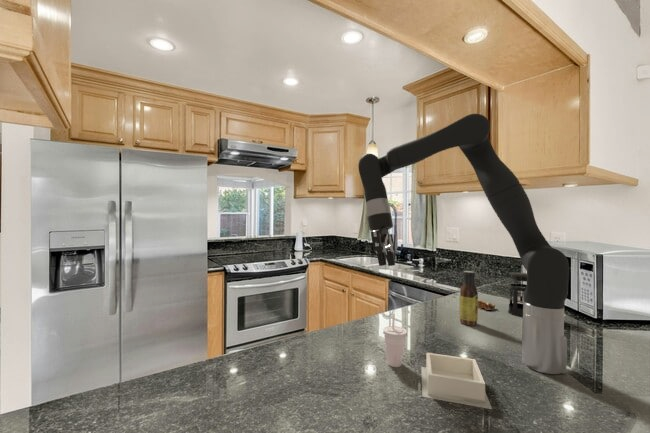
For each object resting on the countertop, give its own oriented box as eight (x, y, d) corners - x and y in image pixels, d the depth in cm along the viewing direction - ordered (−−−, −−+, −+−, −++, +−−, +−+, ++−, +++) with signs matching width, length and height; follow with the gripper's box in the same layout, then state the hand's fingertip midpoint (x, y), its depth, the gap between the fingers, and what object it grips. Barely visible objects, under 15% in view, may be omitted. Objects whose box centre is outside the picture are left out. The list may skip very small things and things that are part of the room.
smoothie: (389, 357, 88) (390, 309, 87) (410, 365, 84) (411, 314, 83) (377, 366, 83) (379, 314, 83) (399, 374, 79) (401, 320, 78)
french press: (501, 311, 133) (503, 258, 132) (514, 308, 137) (516, 257, 137) (530, 320, 122) (532, 262, 122) (543, 317, 127) (545, 261, 126)
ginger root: (474, 303, 146) (474, 296, 146) (499, 310, 135) (499, 302, 135) (465, 305, 142) (465, 297, 142) (489, 312, 132) (489, 304, 132)
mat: (478, 377, 78) (478, 375, 78) (492, 411, 64) (492, 409, 64) (421, 368, 82) (421, 366, 82) (422, 399, 68) (422, 396, 68)
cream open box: (474, 377, 77) (475, 359, 77) (484, 404, 66) (485, 383, 66) (426, 369, 80) (426, 352, 80) (427, 394, 69) (428, 374, 69)
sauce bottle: (479, 327, 113) (480, 273, 113) (461, 325, 115) (462, 272, 114) (474, 321, 120) (475, 270, 120) (457, 319, 121) (458, 269, 121)
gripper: (382, 208, 90) (392, 263, 86) (396, 215, 102) (405, 264, 98) (359, 214, 93) (367, 267, 90) (375, 220, 106) (383, 267, 102)
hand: (387, 265), depth 94 cm, fingers open, 8 cm apart
